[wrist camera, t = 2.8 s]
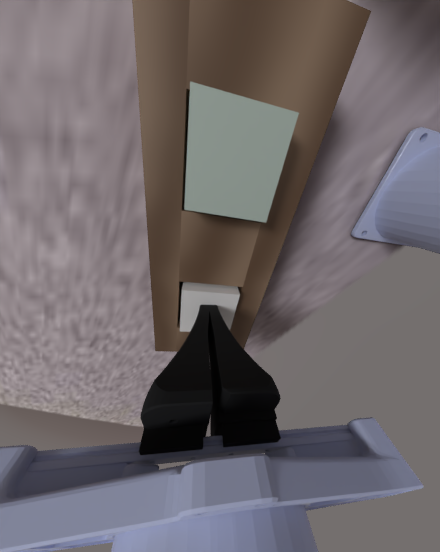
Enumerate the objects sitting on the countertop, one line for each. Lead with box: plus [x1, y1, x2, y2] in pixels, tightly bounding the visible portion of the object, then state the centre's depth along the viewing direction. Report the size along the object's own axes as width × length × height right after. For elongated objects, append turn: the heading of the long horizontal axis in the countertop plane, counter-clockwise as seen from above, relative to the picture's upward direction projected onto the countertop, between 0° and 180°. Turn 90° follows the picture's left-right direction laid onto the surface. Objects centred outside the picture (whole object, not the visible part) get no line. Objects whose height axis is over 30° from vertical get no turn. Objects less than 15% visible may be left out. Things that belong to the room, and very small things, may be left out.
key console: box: [132, 0, 371, 351], centre depth 13 cm, size 9×22×4 cm, turn 171°
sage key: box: [184, 81, 299, 223], centre depth 8 cm, size 4×4×3 cm
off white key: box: [180, 282, 240, 332], centre depth 14 cm, size 4×4×3 cm
